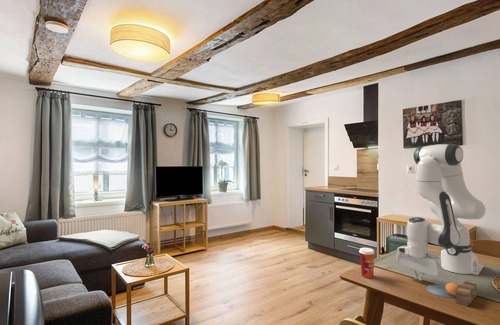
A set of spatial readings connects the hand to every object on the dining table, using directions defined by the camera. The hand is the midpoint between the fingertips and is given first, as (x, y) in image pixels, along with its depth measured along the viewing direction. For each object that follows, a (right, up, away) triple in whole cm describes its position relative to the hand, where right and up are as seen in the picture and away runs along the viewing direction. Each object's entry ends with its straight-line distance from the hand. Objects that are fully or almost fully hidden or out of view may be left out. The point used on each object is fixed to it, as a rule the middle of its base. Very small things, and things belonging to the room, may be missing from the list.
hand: (418, 279), depth 139 cm
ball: (+7, +1, -14) cm, 15 cm away
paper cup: (-21, -2, +10) cm, 23 cm away
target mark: (+6, -2, -9) cm, 11 cm away
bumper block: (+10, -2, -17) cm, 20 cm away
